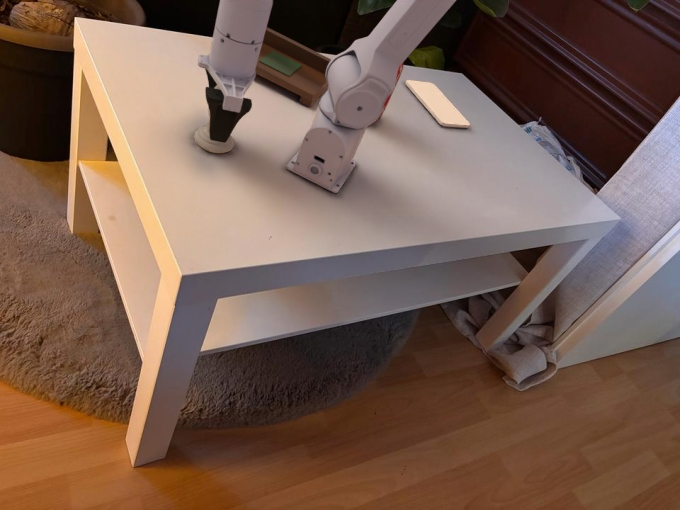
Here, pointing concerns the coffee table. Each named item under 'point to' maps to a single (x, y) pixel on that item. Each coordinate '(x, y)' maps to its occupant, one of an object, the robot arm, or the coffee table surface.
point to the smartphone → (437, 104)
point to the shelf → (293, 66)
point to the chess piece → (212, 146)
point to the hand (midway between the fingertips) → (217, 128)
